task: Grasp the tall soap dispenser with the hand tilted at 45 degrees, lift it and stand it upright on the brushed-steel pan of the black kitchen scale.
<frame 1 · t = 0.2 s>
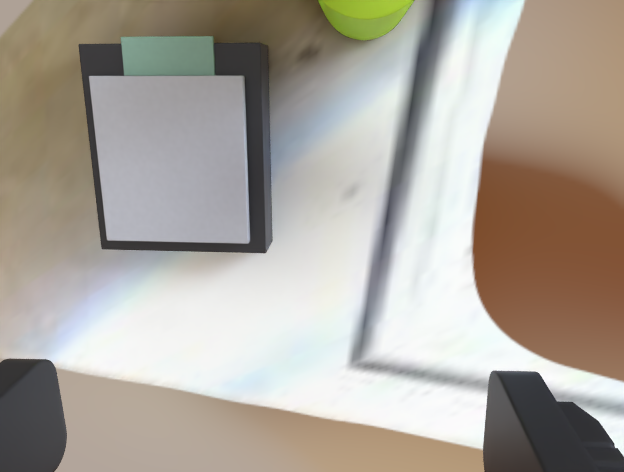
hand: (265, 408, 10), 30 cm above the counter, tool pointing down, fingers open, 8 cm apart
kitchen scale: (188, 147, 40), on the counter
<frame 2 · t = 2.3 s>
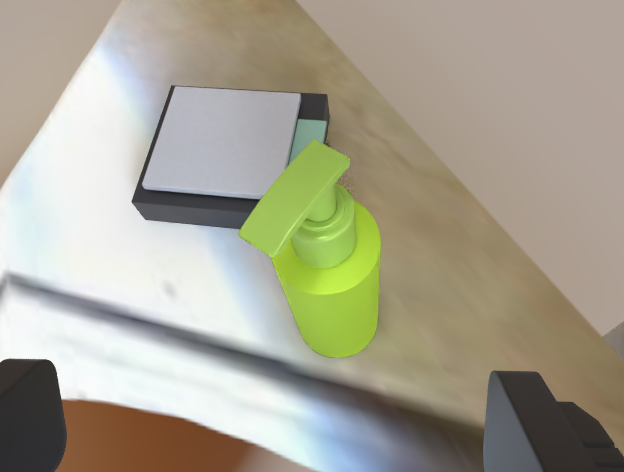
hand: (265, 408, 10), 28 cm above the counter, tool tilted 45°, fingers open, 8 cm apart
soap dispenser: (333, 325, 40), on the counter
kitchen scale: (240, 166, 47), on the counter
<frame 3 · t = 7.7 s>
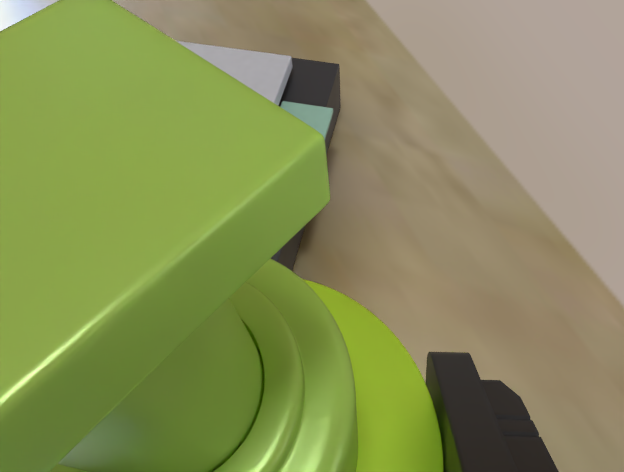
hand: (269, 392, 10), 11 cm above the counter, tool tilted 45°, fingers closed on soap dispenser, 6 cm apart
kitchen scale: (177, 176, 27), on the counter
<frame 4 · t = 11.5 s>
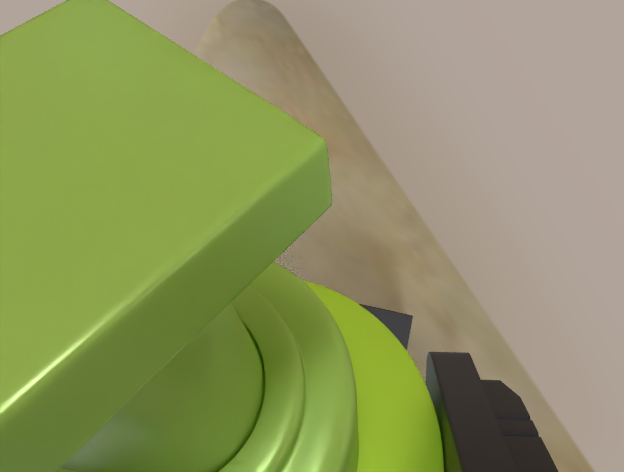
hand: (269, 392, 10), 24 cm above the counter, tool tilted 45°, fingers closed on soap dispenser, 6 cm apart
kitchen scale: (280, 395, 34), on the counter
when the fingers open (15 cm above the counter, at t = 15.3 s): soap dispenser stays where it is, resting on kitchen scale.
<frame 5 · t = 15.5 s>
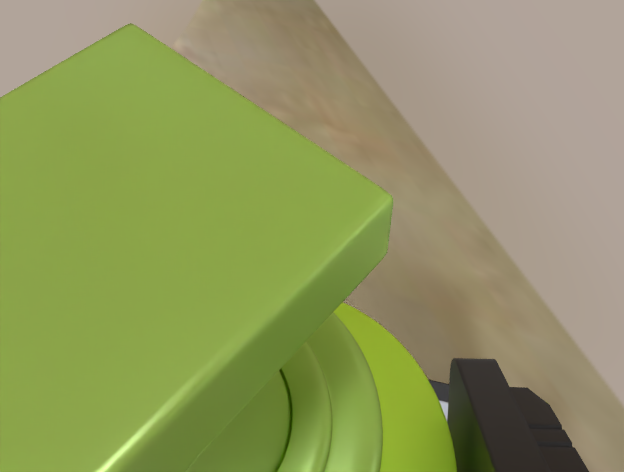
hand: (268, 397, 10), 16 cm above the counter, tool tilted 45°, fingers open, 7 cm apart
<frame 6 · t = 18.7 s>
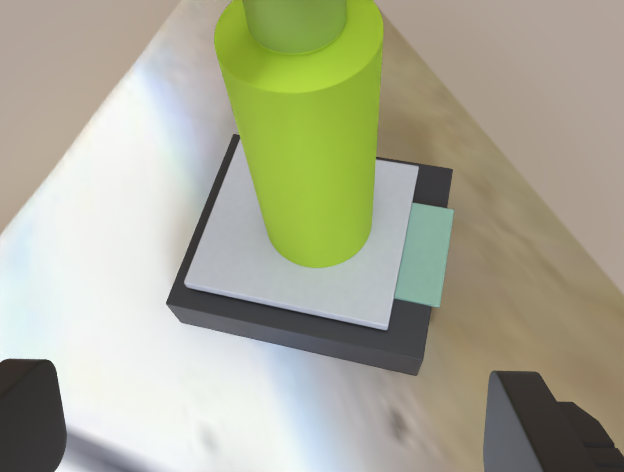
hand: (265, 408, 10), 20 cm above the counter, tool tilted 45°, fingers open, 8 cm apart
soap dispenser: (312, 228, 30), point 4 cm above the counter, touching kitchen scale
kitchen scale: (318, 256, 34), on the counter
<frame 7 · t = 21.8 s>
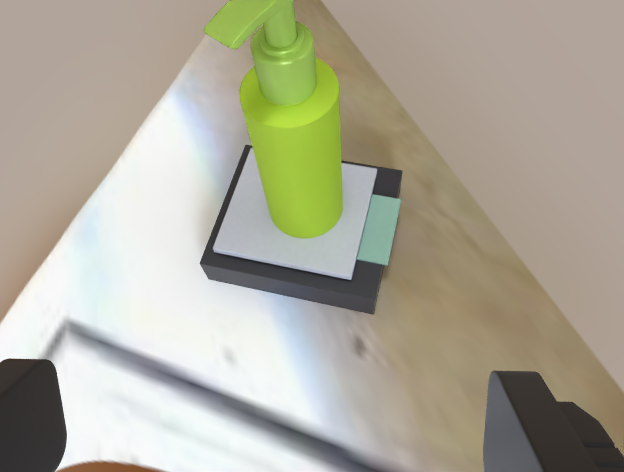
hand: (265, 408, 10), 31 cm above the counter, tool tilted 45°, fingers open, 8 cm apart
soap dispenser: (301, 211, 43), point 4 cm above the counter, touching kitchen scale
kitchen scale: (307, 233, 47), on the counter
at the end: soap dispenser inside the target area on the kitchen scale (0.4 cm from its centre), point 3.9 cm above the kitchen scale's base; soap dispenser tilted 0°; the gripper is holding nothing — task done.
